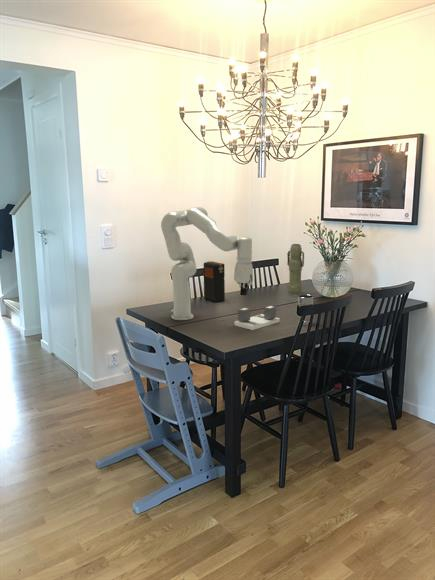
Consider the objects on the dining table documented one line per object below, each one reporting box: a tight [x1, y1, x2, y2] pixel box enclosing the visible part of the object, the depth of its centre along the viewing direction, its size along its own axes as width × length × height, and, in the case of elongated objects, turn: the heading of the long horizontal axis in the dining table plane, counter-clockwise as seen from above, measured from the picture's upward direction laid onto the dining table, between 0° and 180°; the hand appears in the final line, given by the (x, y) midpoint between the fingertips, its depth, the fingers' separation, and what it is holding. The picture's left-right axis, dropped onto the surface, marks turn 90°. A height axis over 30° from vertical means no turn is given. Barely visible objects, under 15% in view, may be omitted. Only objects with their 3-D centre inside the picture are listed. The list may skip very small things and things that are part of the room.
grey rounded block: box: [237, 307, 251, 322], centre depth 248 cm, size 4×5×6 cm
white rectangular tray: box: [233, 313, 281, 331], centre depth 251 cm, size 13×22×2 cm, turn 133°
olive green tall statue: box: [286, 243, 305, 296], centre depth 317 cm, size 9×12×35 cm
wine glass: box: [297, 294, 314, 324], centre depth 250 cm, size 8×8×15 cm
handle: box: [263, 305, 277, 320], centre depth 252 cm, size 4×5×6 cm
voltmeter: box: [203, 260, 226, 303], centre depth 305 cm, size 16×9×25 cm, turn 34°
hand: (243, 294), depth 246 cm, fingers closed
